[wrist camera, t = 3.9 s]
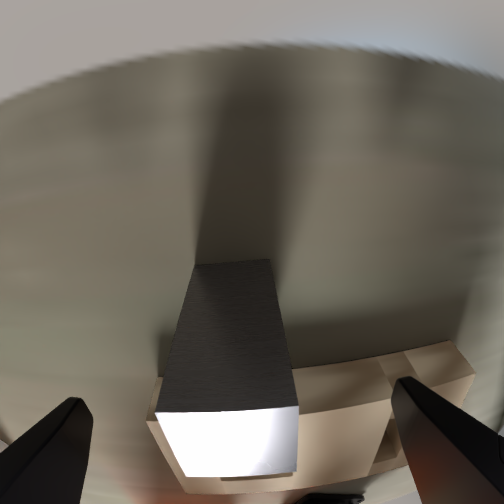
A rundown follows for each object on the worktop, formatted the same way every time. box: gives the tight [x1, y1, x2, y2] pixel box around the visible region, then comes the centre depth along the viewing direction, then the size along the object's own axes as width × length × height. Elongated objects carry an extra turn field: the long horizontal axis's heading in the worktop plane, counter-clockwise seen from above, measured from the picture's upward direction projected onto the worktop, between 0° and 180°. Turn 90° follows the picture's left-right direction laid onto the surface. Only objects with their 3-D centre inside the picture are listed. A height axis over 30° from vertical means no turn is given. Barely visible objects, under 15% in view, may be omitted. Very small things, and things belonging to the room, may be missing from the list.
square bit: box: [155, 259, 299, 477], centre depth 10 cm, size 3×3×8 cm
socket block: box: [146, 340, 476, 494], centre depth 15 cm, size 16×8×3 cm, turn 95°
